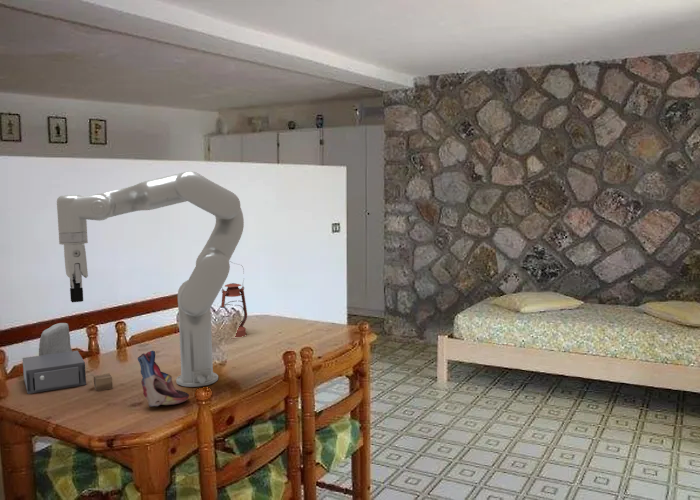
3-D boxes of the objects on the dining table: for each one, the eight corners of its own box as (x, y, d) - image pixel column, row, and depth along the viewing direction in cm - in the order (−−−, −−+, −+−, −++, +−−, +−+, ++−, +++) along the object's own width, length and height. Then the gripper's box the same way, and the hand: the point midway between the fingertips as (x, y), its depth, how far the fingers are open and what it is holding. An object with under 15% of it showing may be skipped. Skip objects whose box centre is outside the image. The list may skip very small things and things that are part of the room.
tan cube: (112, 388, 192) (112, 377, 191) (96, 391, 190) (96, 379, 189) (109, 384, 196) (109, 373, 195) (94, 386, 193) (93, 375, 193)
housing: (86, 384, 196) (84, 362, 195) (27, 393, 188) (26, 370, 187) (78, 371, 209) (77, 350, 209) (23, 379, 201) (22, 357, 201)
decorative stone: (45, 373, 208) (42, 328, 206) (34, 370, 211) (31, 326, 210) (75, 365, 217) (73, 321, 216) (64, 362, 220) (62, 319, 219)
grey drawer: (79, 383, 193) (78, 367, 193) (35, 390, 187) (34, 374, 187) (72, 371, 207) (71, 355, 206) (31, 377, 201) (30, 361, 200)
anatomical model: (185, 410, 173) (183, 355, 171) (137, 411, 172) (134, 357, 170) (191, 398, 182) (188, 346, 181) (145, 400, 181) (143, 348, 180)
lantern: (241, 339, 250) (238, 262, 247) (216, 338, 252) (213, 262, 249) (250, 333, 260) (247, 259, 256) (226, 332, 262) (223, 259, 258)
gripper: (91, 239, 179) (95, 304, 181) (83, 235, 192) (87, 296, 194) (62, 241, 175) (66, 307, 177) (56, 237, 188) (60, 299, 190)
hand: (77, 301), depth 186 cm, fingers closed
